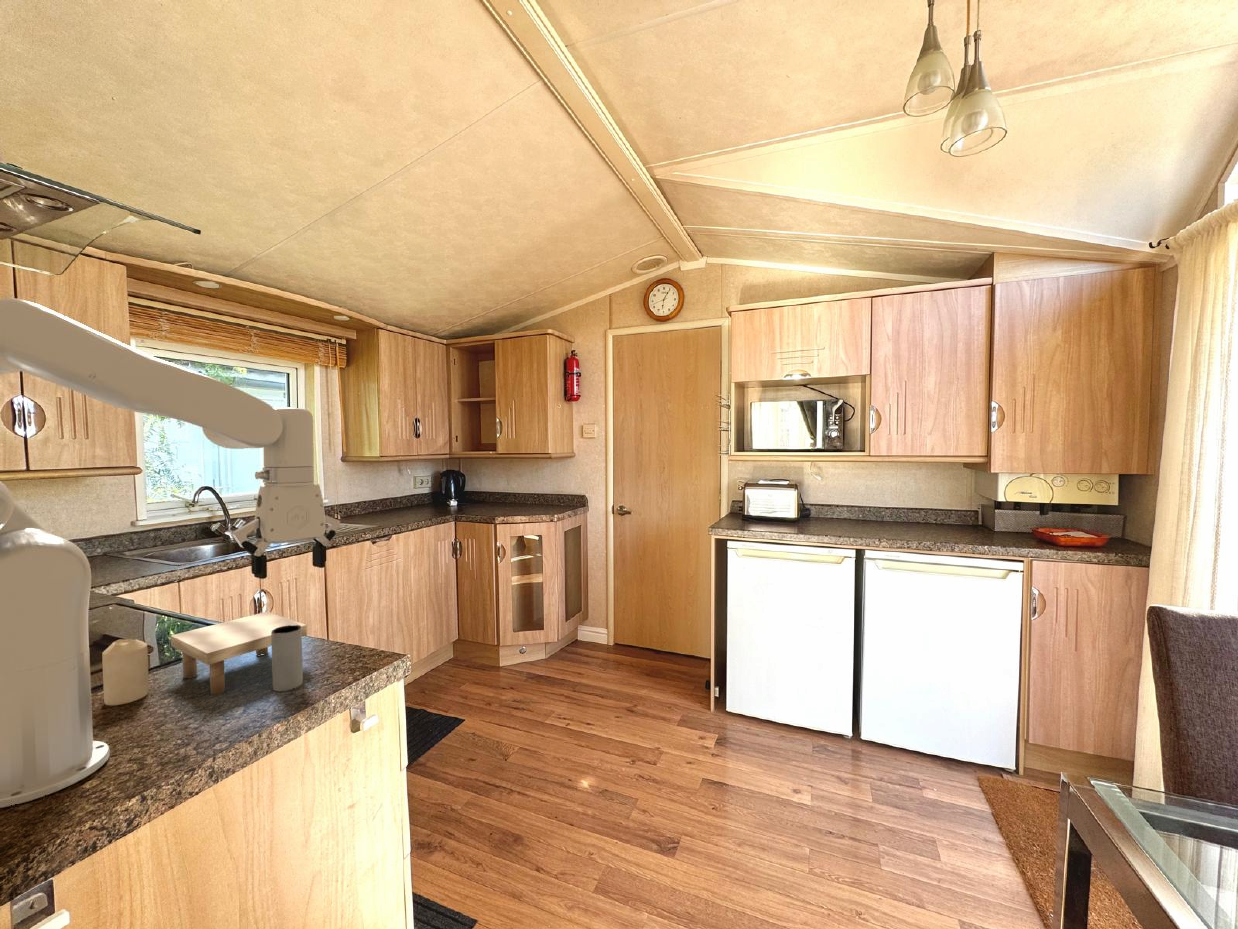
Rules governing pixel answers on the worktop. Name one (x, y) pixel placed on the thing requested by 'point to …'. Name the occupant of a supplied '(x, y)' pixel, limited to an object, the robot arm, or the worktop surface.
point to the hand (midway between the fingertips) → (290, 572)
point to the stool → (227, 644)
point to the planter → (287, 657)
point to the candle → (125, 672)
